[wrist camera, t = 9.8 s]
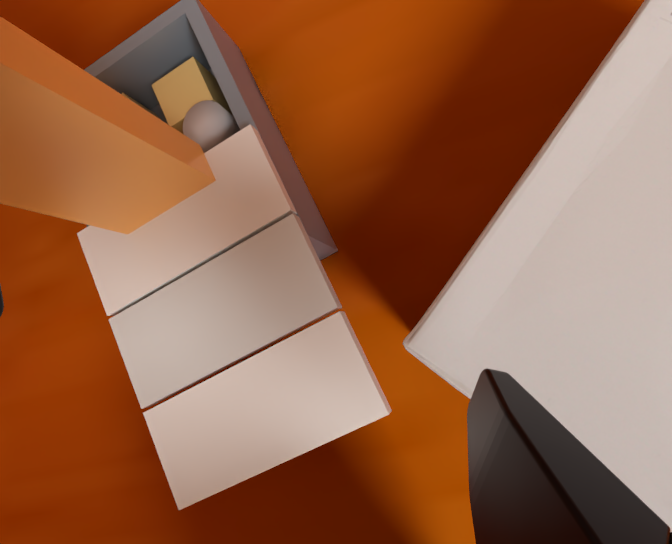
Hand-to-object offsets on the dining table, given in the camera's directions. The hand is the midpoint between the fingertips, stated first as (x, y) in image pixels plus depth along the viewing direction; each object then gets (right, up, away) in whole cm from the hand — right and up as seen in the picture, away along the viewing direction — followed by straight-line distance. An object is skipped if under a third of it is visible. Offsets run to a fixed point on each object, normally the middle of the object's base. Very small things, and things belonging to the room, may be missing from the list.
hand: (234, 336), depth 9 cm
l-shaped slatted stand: (-2, 0, +8) cm, 9 cm away
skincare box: (+16, +9, +5) cm, 19 cm away
